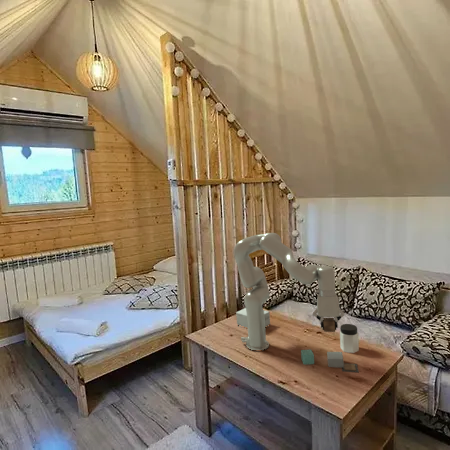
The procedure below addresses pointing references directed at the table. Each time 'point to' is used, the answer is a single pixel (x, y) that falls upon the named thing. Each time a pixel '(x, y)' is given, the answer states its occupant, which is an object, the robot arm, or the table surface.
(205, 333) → the table surface
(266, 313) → the supplement box
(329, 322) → the walnut cube
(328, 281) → the robot arm
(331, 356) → the grey base block
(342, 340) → the jar
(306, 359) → the teal cube
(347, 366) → the swatch
